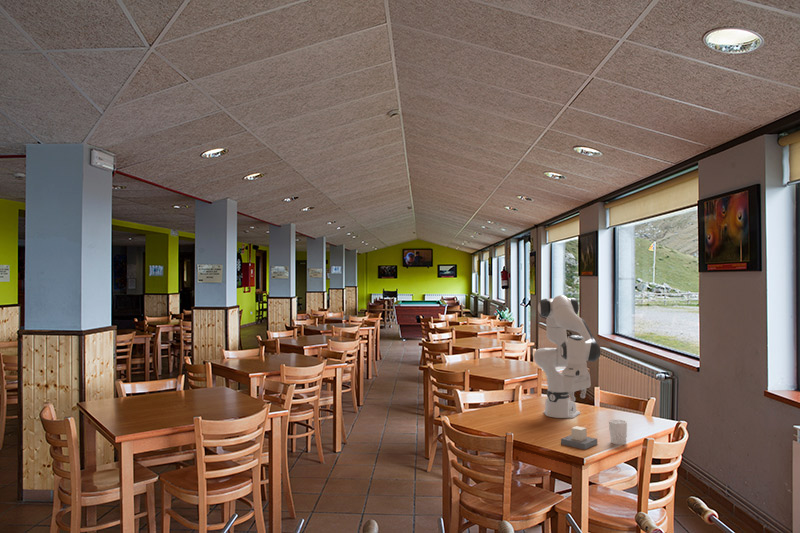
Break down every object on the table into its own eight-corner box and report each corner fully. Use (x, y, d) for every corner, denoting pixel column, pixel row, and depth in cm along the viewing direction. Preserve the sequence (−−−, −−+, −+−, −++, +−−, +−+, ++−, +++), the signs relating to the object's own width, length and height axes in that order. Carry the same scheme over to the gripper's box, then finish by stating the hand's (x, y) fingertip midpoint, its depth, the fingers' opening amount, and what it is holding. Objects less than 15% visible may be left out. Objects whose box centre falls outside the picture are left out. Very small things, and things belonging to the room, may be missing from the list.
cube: (576, 436, 246) (576, 426, 246) (586, 438, 242) (586, 428, 243) (571, 438, 243) (571, 428, 243) (581, 440, 239) (581, 430, 239)
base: (573, 439, 251) (573, 433, 251) (597, 444, 242) (597, 438, 242) (561, 444, 243) (560, 438, 243) (585, 449, 234) (584, 444, 234)
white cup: (622, 440, 248) (622, 419, 248) (630, 445, 240) (629, 423, 241) (606, 440, 248) (606, 419, 248) (614, 445, 240) (613, 423, 240)
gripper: (581, 366, 254) (582, 395, 253) (560, 371, 240) (560, 401, 239) (593, 368, 249) (594, 397, 248) (572, 373, 235) (573, 403, 234)
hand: (577, 399), depth 243 cm, fingers open, 8 cm apart
